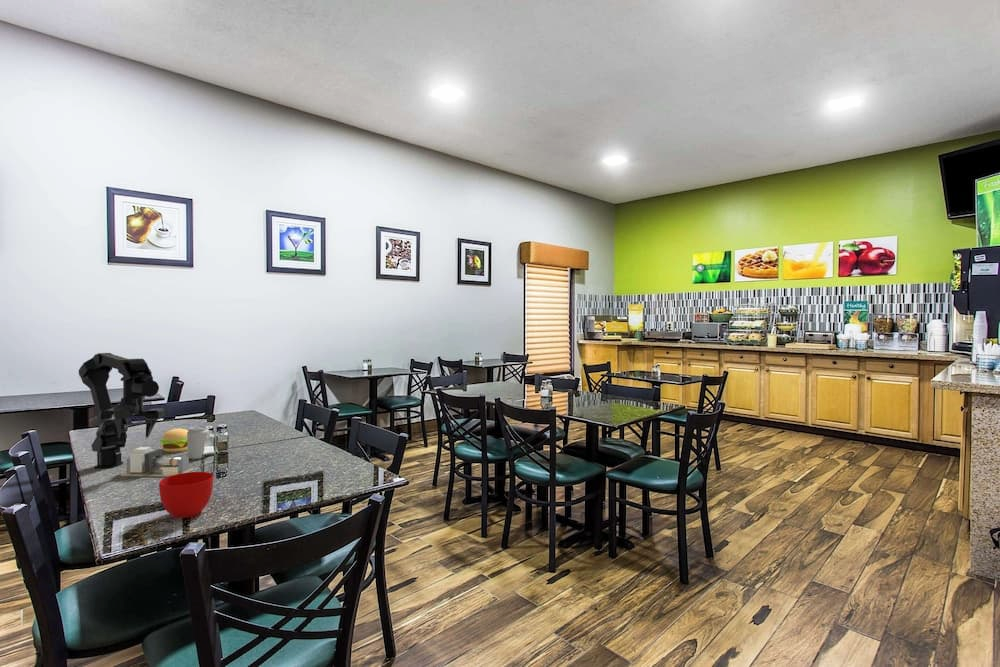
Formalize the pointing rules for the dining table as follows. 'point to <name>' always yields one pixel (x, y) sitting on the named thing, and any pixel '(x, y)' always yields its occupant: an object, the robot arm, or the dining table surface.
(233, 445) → the dining table surface
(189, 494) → the red bowl
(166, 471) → the beige mechanical fixture
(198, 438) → the can
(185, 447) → the hamburger
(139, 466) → the bracket
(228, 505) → the dining table surface
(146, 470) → the block
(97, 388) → the robot arm
